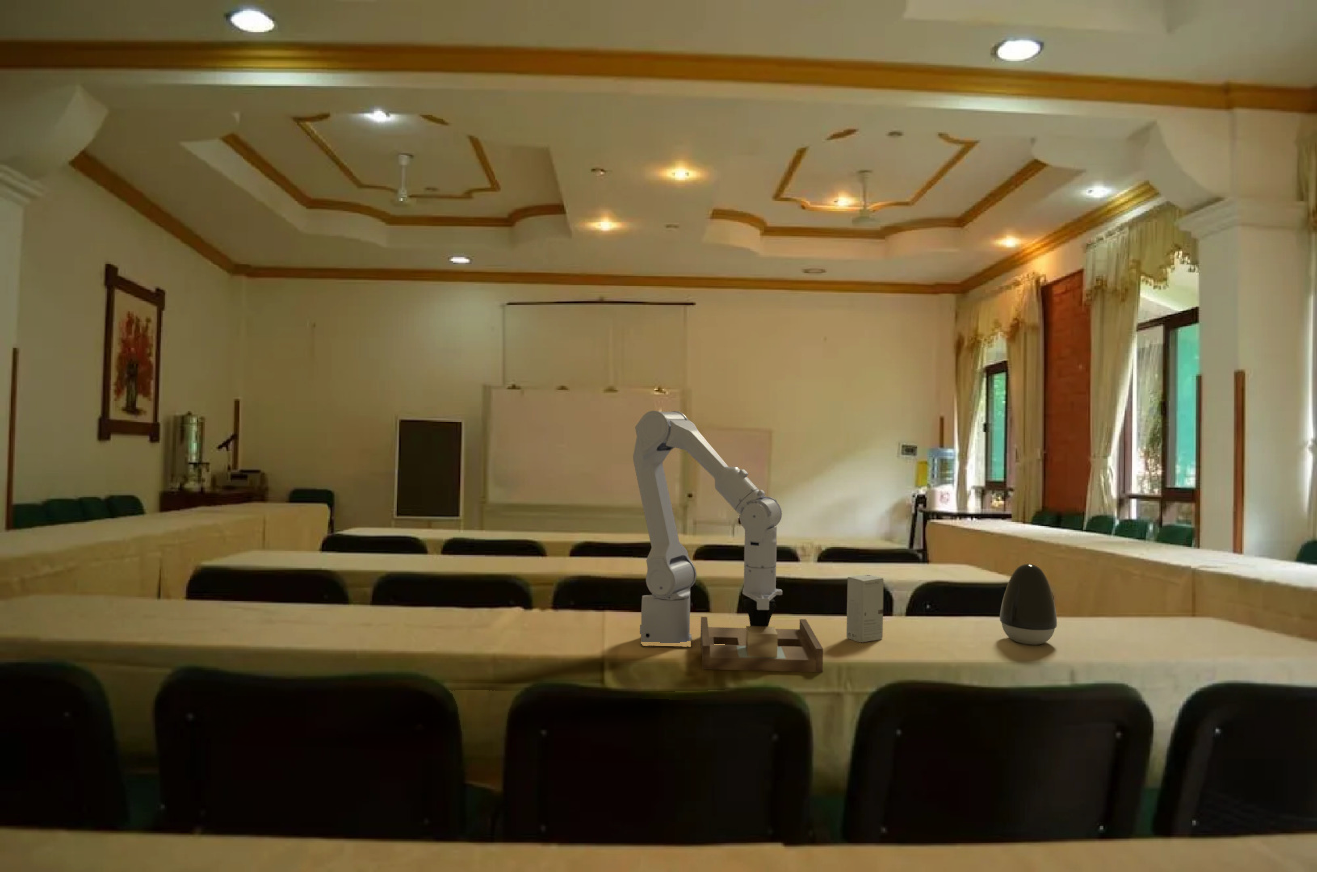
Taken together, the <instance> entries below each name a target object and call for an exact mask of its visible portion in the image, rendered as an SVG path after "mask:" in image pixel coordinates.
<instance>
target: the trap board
mask: <svg viewBox="0 0 1317 872" xmlns="http://www.w3.org/2000/svg"><path fill="white" fill-rule="evenodd" d="M775 629H776V632H777V634H778V639H777V657H748V655H747V651H746V627H724V626H723V627H719V626H717V627H716V626H714V627H713V626H709V623H708V616H700V647H701V646H702V652H701V659H702V658H703V661H702V660H701V664H702V670H722V671H723V670H725V671H726V670H727V671H730V670H731V671H762V672H766V671H767V672H770V671H771V672H800V673H801V672H802V673H803V672H804V673H805V672H808V673H823V672H824V670H823V669H824V667H823V666H824V648H823V646H822V645H821V642H820V640H818V638H817V636H816V634H815V633H814V631H813V629H812V626H811V625H810V624H809V622H808V621H807V619H806V618H799V629H798V628H775ZM714 644H725V645H714ZM702 662H703V663H702Z"/></svg>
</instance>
